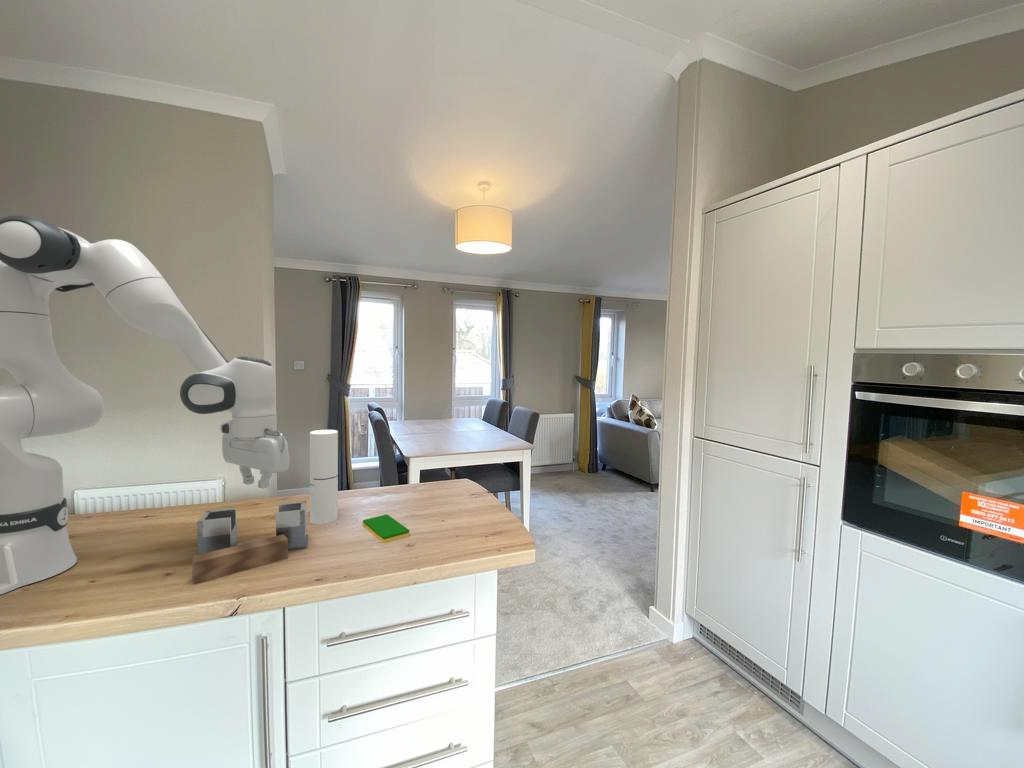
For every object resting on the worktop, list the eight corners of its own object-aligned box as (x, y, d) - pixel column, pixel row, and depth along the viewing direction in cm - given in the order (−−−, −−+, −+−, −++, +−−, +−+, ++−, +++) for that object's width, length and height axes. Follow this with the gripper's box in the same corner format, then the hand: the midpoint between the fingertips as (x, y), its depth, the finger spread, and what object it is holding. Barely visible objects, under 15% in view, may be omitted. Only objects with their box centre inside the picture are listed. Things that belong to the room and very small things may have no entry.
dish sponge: (383, 546, 104) (383, 537, 104) (362, 528, 115) (362, 519, 115) (409, 539, 109) (409, 530, 109) (387, 522, 119) (387, 513, 119)
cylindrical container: (327, 526, 115) (327, 435, 113) (304, 523, 116) (303, 433, 114) (343, 516, 122) (343, 430, 120) (321, 513, 123) (320, 429, 121)
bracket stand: (195, 565, 92) (194, 522, 92) (204, 551, 99) (203, 511, 98) (307, 549, 101) (307, 510, 100) (308, 537, 107) (308, 500, 107)
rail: (194, 586, 84) (194, 562, 84) (192, 579, 87) (192, 556, 86) (288, 560, 96) (287, 539, 95) (283, 555, 98) (283, 534, 98)
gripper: (296, 429, 96) (297, 489, 97) (243, 421, 105) (244, 476, 106) (269, 433, 90) (270, 497, 91) (215, 425, 100) (217, 482, 101)
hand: (256, 485), depth 99 cm, fingers open, 4 cm apart
